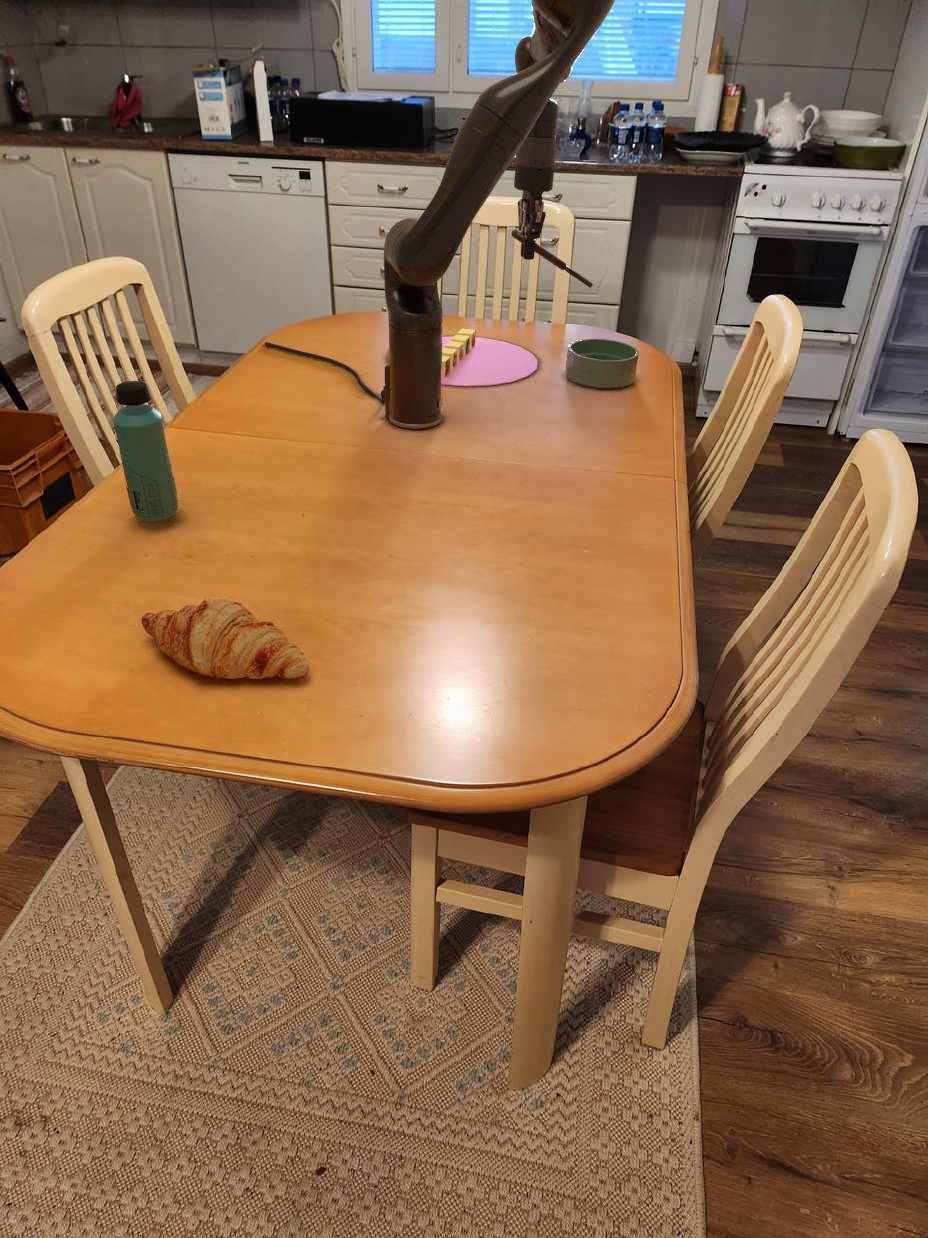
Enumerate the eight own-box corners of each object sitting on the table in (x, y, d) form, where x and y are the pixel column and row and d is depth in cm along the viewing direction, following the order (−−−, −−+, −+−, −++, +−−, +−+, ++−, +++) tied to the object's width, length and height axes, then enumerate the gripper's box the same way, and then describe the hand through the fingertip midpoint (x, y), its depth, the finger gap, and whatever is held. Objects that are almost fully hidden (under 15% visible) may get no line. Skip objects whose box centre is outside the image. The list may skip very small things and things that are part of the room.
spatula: (586, 283, 183) (593, 228, 177) (592, 287, 180) (599, 232, 174) (505, 283, 180) (509, 227, 174) (510, 288, 177) (514, 231, 170)
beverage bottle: (190, 514, 125) (168, 379, 114) (162, 535, 120) (137, 396, 109) (151, 506, 127) (126, 372, 115) (123, 526, 122) (93, 388, 110)
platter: (365, 374, 176) (365, 357, 174) (416, 330, 201) (416, 315, 199) (519, 395, 169) (520, 378, 167) (551, 346, 195) (553, 331, 193)
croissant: (322, 688, 100) (335, 621, 98) (282, 705, 90) (295, 630, 89) (163, 644, 104) (173, 580, 103) (108, 655, 95) (119, 584, 94)
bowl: (552, 379, 177) (555, 350, 174) (585, 362, 187) (588, 334, 184) (615, 396, 171) (619, 366, 167) (645, 377, 181) (650, 348, 177)
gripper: (508, 156, 171) (501, 250, 181) (524, 166, 160) (516, 265, 170) (545, 157, 172) (536, 250, 182) (563, 167, 161) (553, 266, 171)
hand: (527, 257), depth 176 cm, fingers closed on spatula, 1 cm apart
